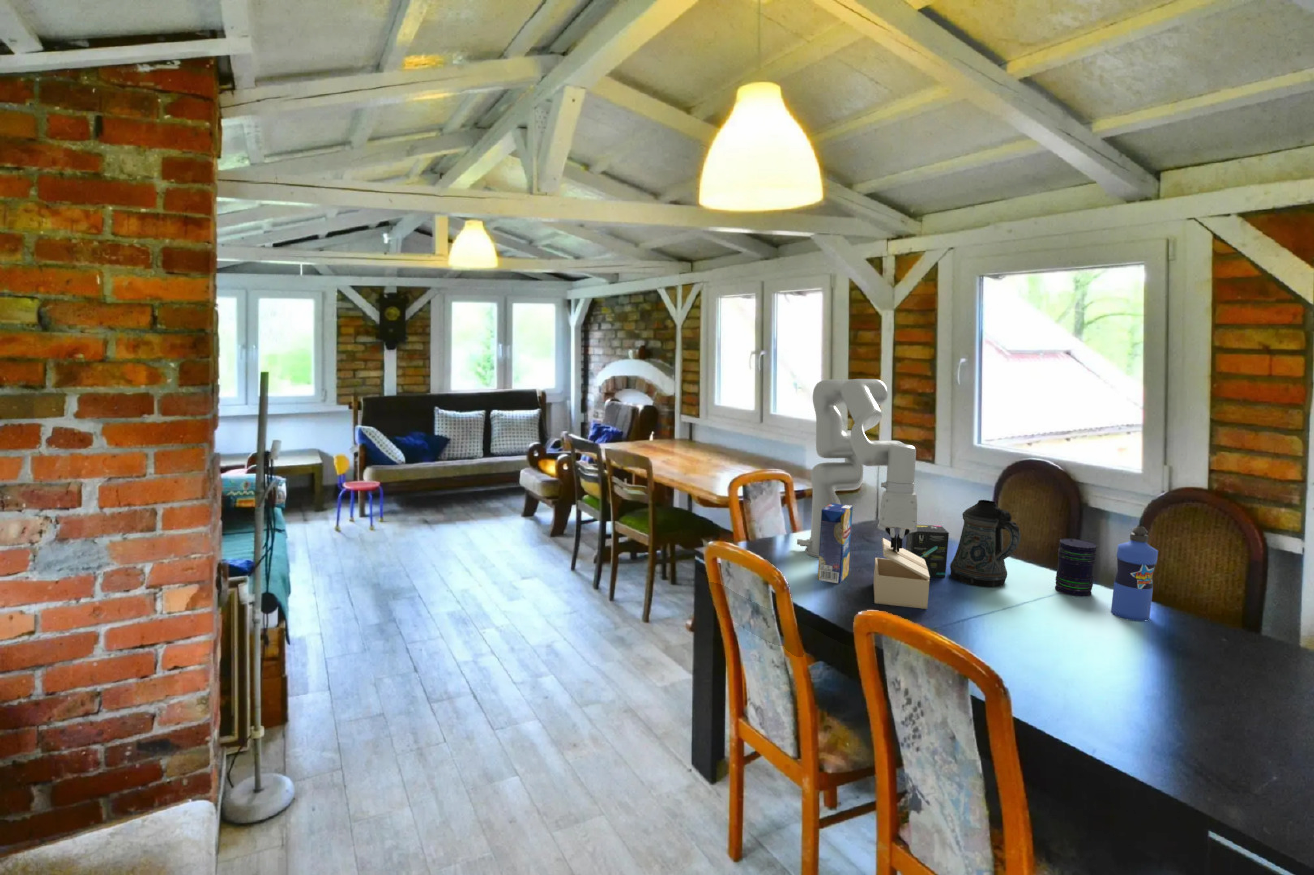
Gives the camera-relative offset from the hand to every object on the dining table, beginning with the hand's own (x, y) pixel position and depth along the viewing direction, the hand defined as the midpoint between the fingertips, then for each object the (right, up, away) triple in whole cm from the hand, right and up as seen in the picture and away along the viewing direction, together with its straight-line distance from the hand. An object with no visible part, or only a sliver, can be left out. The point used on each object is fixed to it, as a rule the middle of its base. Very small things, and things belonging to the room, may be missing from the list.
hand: (896, 550), depth 215 cm
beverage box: (-14, -11, +17) cm, 25 cm away
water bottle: (+62, -17, -9) cm, 64 cm away
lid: (+2, -2, 0) cm, 3 cm away
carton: (+1, -13, +2) cm, 14 cm away
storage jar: (+56, -14, +10) cm, 59 cm away
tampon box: (+17, -11, +24) cm, 32 cm away
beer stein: (+33, -12, +18) cm, 39 cm away
